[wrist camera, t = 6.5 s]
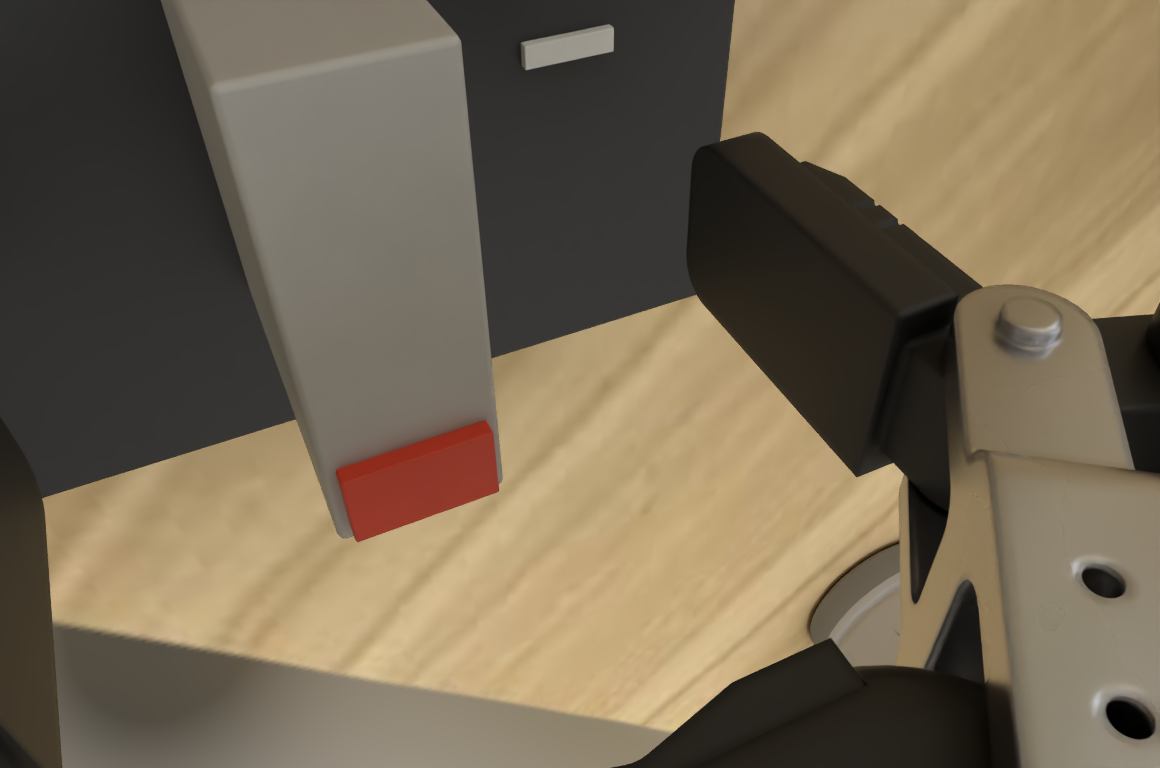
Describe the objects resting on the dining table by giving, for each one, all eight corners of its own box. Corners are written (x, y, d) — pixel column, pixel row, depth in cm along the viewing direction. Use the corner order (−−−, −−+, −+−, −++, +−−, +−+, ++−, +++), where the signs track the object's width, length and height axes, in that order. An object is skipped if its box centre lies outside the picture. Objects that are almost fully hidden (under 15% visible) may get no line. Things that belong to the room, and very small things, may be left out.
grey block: (127, -109, 10) (213, 101, 7) (310, -134, 11) (474, 48, 8) (250, 293, 14) (346, 559, 11) (383, 259, 15) (512, 499, 11)
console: (659, -482, 13) (793, -472, 11) (633, 213, 20) (709, 298, 18) (-718, -442, 9) (-928, -413, 7) (-107, 417, 16) (-115, 556, 14)
